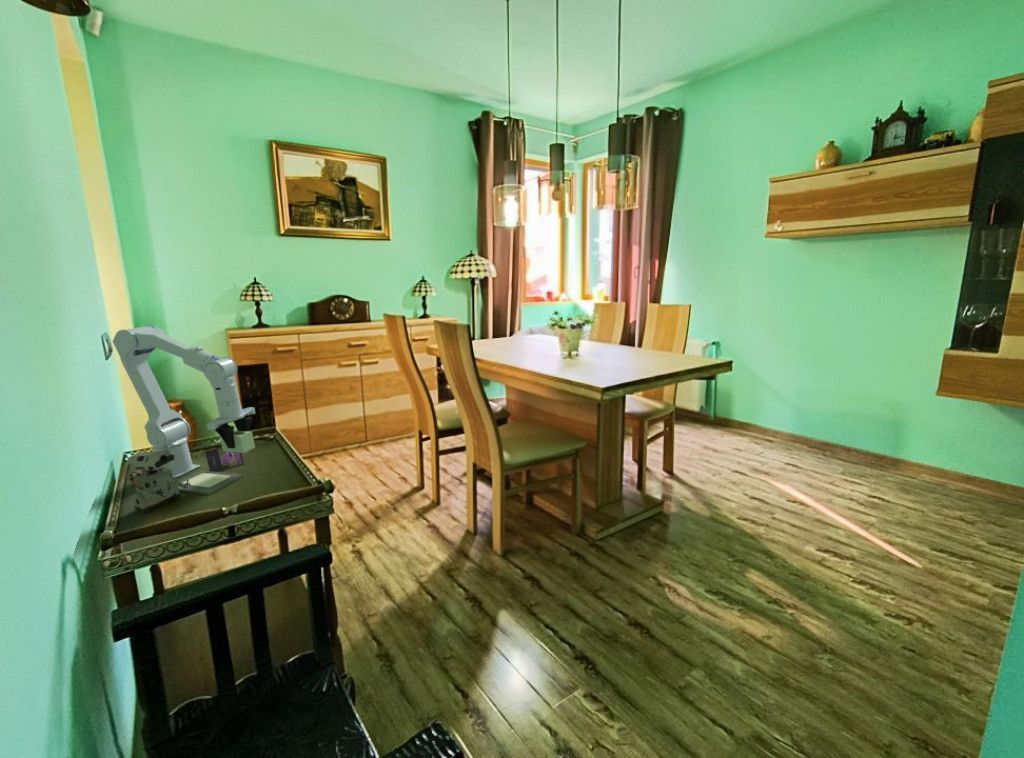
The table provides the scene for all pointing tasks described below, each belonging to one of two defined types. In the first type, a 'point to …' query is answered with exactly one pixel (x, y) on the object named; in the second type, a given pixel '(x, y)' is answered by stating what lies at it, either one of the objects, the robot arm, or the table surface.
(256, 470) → the table surface
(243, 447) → the mint slotted box
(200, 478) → the mat
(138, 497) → the figurine
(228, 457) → the game card
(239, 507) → the table surface
